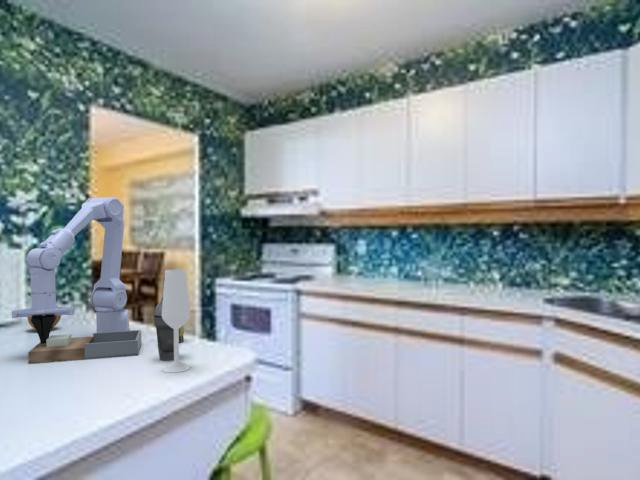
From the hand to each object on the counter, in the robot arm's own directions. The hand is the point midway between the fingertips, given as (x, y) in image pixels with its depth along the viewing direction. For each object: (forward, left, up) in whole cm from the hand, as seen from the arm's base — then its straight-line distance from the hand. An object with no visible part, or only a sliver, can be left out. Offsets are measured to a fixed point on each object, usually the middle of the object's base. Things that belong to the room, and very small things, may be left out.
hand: (44, 342), depth 127 cm
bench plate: (-4, 0, -4) cm, 6 cm away
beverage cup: (-32, +13, -4) cm, 35 cm away
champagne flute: (-34, +23, -4) cm, 41 cm away
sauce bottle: (-33, -6, -4) cm, 34 cm away
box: (-17, 0, -4) cm, 18 cm away
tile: (-4, 0, -1) cm, 4 cm away
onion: (+9, -38, -4) cm, 39 cm away
